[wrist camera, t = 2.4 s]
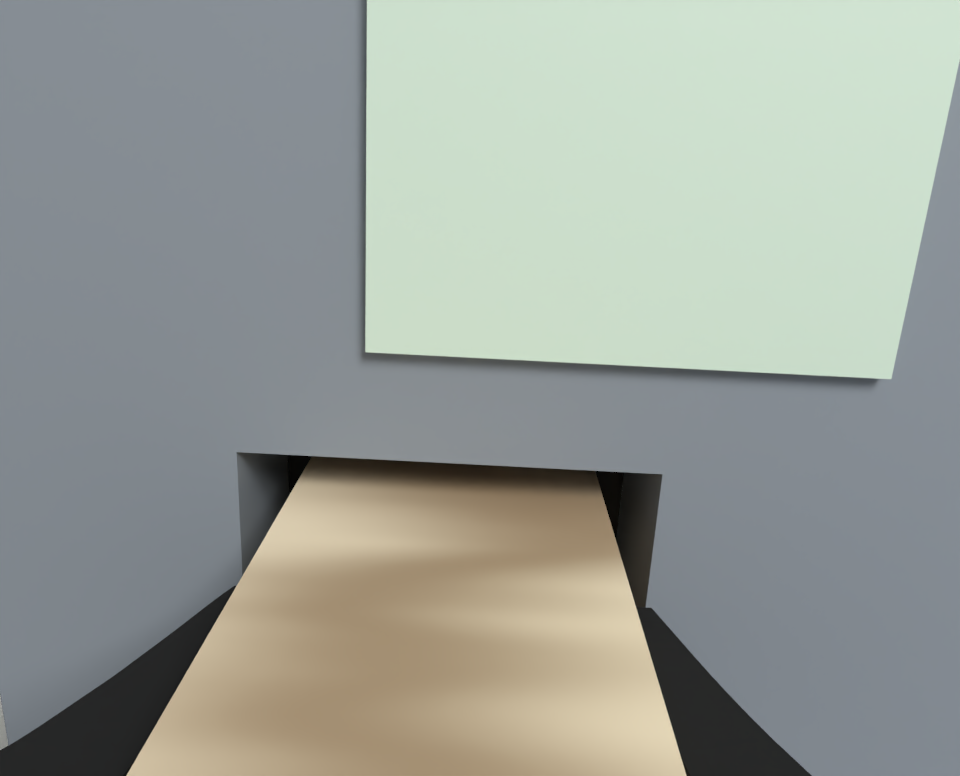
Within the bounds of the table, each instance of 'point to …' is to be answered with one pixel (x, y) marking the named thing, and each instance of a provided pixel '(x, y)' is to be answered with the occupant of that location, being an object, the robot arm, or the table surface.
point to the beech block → (425, 636)
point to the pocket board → (497, 317)
